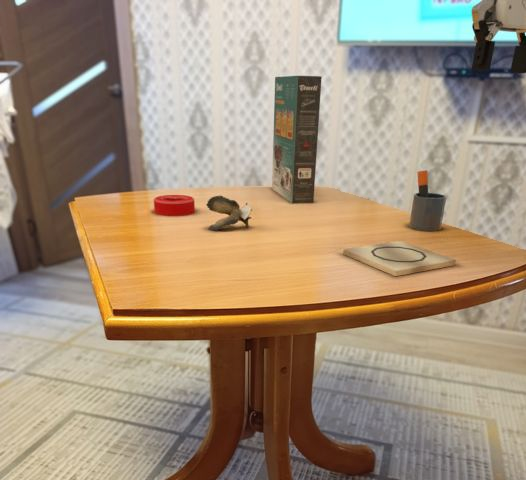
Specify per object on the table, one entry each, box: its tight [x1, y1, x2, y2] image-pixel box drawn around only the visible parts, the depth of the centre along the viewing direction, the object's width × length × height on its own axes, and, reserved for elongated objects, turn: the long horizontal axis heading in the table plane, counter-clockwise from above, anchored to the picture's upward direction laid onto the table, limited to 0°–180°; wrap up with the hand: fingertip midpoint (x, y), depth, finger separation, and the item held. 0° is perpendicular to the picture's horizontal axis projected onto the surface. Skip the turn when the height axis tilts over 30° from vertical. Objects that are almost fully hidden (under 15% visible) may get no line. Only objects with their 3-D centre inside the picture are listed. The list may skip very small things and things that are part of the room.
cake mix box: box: [271, 75, 323, 204], centre depth 139 cm, size 22×6×30 cm, turn 13°
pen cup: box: [408, 192, 447, 232], centre depth 113 cm, size 7×7×7 cm
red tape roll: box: [153, 194, 196, 217], centre depth 123 cm, size 10×10×3 cm
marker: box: [416, 169, 429, 198], centre depth 113 cm, size 2×2×12 cm
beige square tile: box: [342, 240, 457, 277], centre depth 91 cm, size 14×14×1 cm
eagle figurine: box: [206, 195, 253, 231], centre depth 109 cm, size 8×7×9 cm
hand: (500, 71), depth 84 cm, fingers open, 9 cm apart
